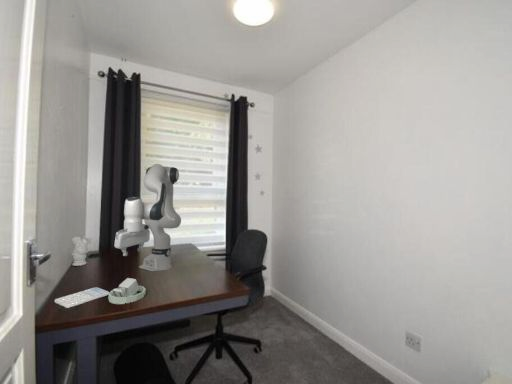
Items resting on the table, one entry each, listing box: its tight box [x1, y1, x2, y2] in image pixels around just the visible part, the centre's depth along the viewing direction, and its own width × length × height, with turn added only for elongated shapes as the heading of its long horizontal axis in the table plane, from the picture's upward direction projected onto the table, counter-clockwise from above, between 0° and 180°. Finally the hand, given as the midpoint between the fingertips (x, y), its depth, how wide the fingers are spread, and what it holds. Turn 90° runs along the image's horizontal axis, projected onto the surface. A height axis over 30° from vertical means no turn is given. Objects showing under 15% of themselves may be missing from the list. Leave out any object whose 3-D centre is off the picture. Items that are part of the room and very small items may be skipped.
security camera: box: [112, 277, 140, 297], centre depth 129 cm, size 6×7×10 cm
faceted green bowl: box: [107, 285, 147, 305], centre depth 130 cm, size 17×17×3 cm
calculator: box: [54, 287, 110, 309], centre depth 128 cm, size 13×20×2 cm, turn 151°
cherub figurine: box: [71, 234, 92, 267], centre depth 187 cm, size 12×12×22 cm
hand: (132, 253), depth 134 cm, fingers open, 8 cm apart
